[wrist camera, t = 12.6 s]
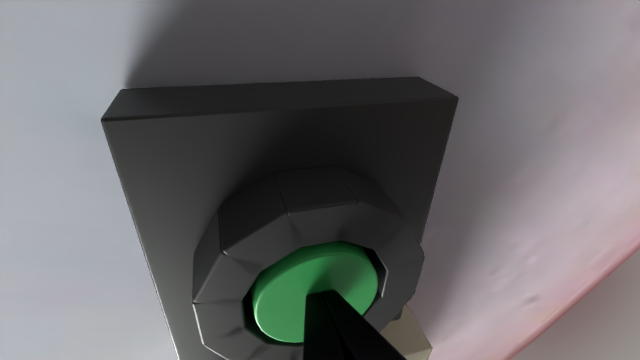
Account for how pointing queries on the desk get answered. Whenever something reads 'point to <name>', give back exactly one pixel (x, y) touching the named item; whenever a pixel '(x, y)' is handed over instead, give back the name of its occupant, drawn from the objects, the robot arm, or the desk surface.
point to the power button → (310, 285)
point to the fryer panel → (407, 337)
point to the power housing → (274, 192)
